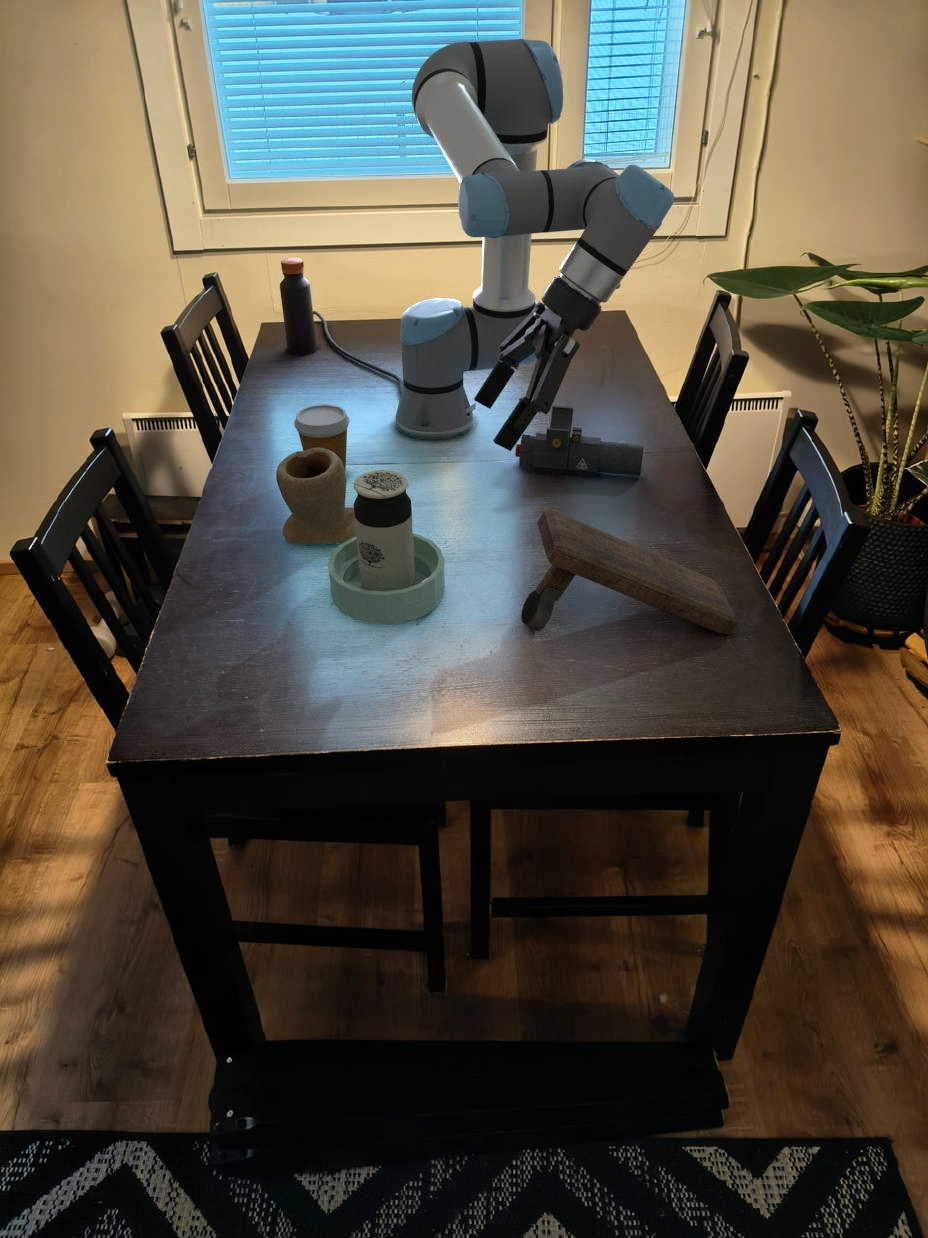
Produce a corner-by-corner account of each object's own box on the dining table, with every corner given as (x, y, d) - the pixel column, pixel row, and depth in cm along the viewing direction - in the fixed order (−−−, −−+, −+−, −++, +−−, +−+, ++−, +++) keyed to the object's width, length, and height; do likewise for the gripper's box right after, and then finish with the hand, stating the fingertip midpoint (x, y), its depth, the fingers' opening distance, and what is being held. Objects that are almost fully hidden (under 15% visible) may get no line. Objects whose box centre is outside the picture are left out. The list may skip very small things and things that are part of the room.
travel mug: (391, 568, 140) (384, 462, 129) (426, 589, 135) (422, 482, 124) (350, 589, 135) (339, 482, 124) (385, 612, 131) (377, 503, 120)
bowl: (314, 583, 138) (310, 550, 134) (411, 552, 145) (409, 519, 141) (361, 642, 127) (358, 607, 123) (465, 605, 133) (464, 571, 130)
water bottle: (314, 354, 211) (305, 265, 199) (285, 354, 211) (273, 265, 199) (318, 343, 216) (309, 256, 204) (290, 343, 216) (279, 256, 204)
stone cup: (276, 557, 144) (263, 472, 135) (290, 517, 153) (278, 436, 144) (372, 558, 143) (365, 473, 134) (380, 518, 153) (374, 436, 144)
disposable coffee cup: (364, 470, 166) (359, 408, 159) (336, 494, 159) (330, 430, 152) (319, 460, 170) (312, 399, 162) (290, 483, 163) (282, 420, 155)
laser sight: (639, 488, 160) (645, 436, 154) (512, 478, 164) (513, 426, 157) (640, 462, 168) (647, 412, 162) (519, 453, 171) (521, 403, 165)
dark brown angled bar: (659, 654, 142) (490, 588, 131) (720, 579, 134) (545, 503, 124) (677, 699, 133) (498, 632, 123) (742, 622, 126) (558, 544, 115)
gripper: (633, 337, 110) (534, 477, 119) (576, 274, 130) (494, 399, 139) (585, 306, 107) (487, 453, 116) (534, 247, 126) (453, 376, 136)
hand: (491, 424), depth 127 cm, fingers open, 13 cm apart
